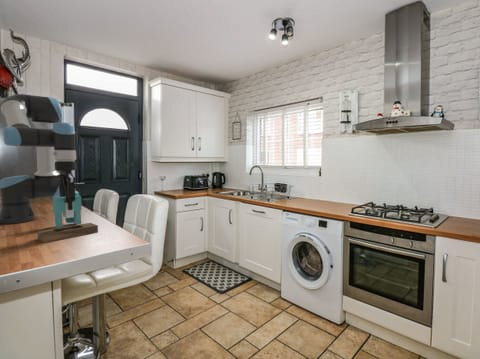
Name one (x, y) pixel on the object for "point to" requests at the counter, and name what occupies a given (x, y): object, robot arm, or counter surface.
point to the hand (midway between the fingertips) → (68, 216)
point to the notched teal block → (60, 207)
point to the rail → (67, 232)
